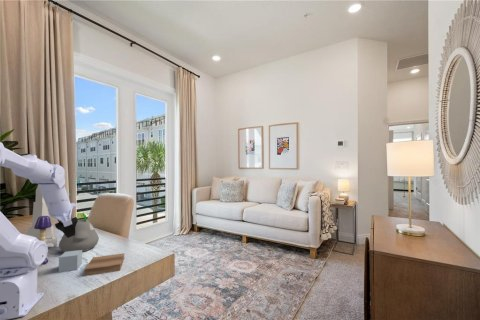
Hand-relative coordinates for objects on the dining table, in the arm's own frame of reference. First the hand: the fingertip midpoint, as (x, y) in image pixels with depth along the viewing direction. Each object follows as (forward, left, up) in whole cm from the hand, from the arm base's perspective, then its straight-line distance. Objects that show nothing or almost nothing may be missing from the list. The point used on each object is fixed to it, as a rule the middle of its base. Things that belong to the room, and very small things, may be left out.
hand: (67, 229), depth 75 cm
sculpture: (+24, +17, -13) cm, 32 cm away
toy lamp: (+7, +10, -13) cm, 18 cm away
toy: (+19, +2, -13) cm, 23 cm away
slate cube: (-1, -1, -13) cm, 13 cm away
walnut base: (-4, -12, -13) cm, 19 cm away
